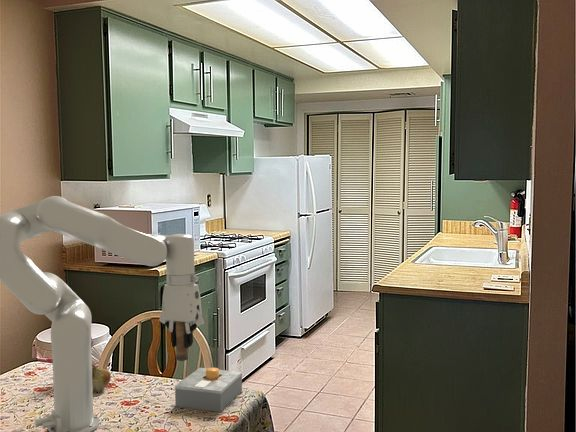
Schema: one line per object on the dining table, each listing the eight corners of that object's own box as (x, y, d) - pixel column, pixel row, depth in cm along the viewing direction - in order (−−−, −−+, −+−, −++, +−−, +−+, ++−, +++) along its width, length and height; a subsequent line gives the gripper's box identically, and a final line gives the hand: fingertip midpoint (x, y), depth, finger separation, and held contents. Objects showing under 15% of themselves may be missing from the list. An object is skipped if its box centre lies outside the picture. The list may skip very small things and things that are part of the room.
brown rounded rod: (179, 361, 158) (178, 317, 157) (174, 358, 161) (173, 315, 160) (190, 359, 160) (189, 316, 159) (185, 356, 163) (184, 313, 162)
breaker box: (220, 412, 163) (220, 390, 162) (175, 406, 167) (175, 385, 166) (241, 391, 178) (241, 371, 178) (200, 386, 182) (199, 367, 182)
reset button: (215, 386, 172) (215, 372, 171) (203, 384, 173) (203, 371, 172) (221, 381, 175) (221, 368, 175) (209, 379, 177) (209, 367, 176)
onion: (102, 395, 175) (101, 369, 174) (78, 393, 177) (77, 367, 176) (115, 386, 182) (115, 361, 181) (93, 384, 184) (92, 359, 184)
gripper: (214, 278, 160) (215, 344, 161) (160, 275, 165) (162, 339, 166) (201, 284, 153) (203, 353, 154) (146, 280, 158) (148, 347, 159)
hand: (182, 345), depth 160 cm, fingers closed on brown rounded rod, 3 cm apart
